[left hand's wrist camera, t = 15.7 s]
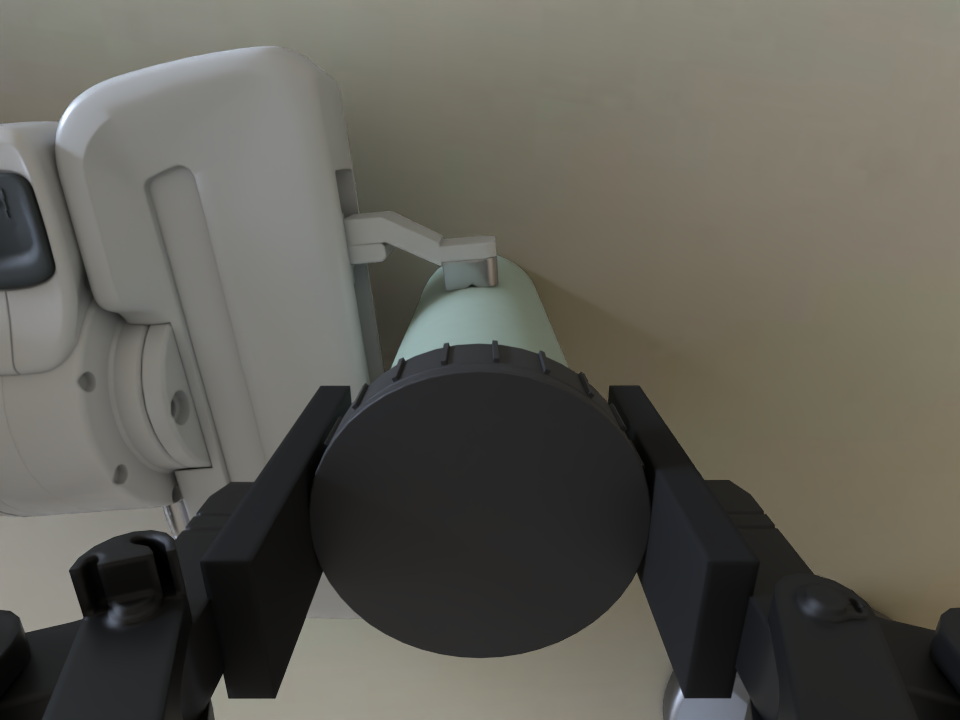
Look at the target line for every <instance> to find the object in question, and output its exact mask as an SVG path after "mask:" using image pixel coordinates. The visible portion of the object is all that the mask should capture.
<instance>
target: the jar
mask: <svg viewBox="0 0 960 720" xmlns="http://www.w3.org/2000/svg"><path fill="white" fill-rule="evenodd" d="M497 264H498V280H499V284H498V285H496V286H493V287H488V288H485V287H476V286H474V285H473V284H472V285H470V286H469V287H468V288H467V289H461V290H452V291H446V289H445V281H444V274H443V266H442V267H440V268H439V269H438V270H437V271H436V272H435V273H434V274H433V275H432V276H431V278H430V279H429V281H428V282H427V284H426V286H425V288H424V290H423V293H422V295H421V297H420V300H419V302H418V304H417V307H416V309H415V312H414V314H413V316H412V319H411V321H410V324H409V326H408V328H407V331H406V333H405V336H404V338H403V340H402V343H401V345H400V348H399V350H398V352H397V355H396V357H395V360H394V362H393V364H392V367H391V368H393V367H394V366H396V365H397V363H398V361H399V359H401V358H402V357H404V359H405V361H406V360H408V359H410V358H412V357H414V356H416V355H419V354H422V353H425V352H428V351H431V350H435V349H439V348H443V345H444V343H449V345H450V346H454V345H463V344H478V343H480V344H492V340H497V341H498V345H505V346H511V347H516V348H522V349H525V350H528V351H531V352H535V353H539V351H540V350H541V351H544V352H545V355H546V357H548V358H550V359H552V360H554V361H556V362H559V363H561V364H563V365H564V366H566V367H567V368H569V367H568V365H567V362H566V360H565V358H564V355H563V353H562V350H561V348H560V346H559V343H558V341H557V338H556V336H555V334H554V331H553V329H552V326H551V324H550V322H549V319H548V317H547V315H546V312H545V310H544V307H543V305H542V303H541V300H540V298H539V295H538V293H537V291H536V288H535V286H534V284H533V282H532V281H531V279H530V278H529V277H528V275H527V274H526V273H525V272H524V271H523V270H522V269H521V268H520V267H519V266H517V265H516V264H515V263H513V262H511V261H510V260H508V259H506V258H503V257H501V256H498V255H497Z"/></svg>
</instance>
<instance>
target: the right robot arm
mask: <svg viewBox="0 0 960 720" xmlns="http://www.w3.org/2000/svg"><path fill="white" fill-rule="evenodd" d="M396 247H397V248H399V249H402V250H404V251H406V252H409V253H411V254H413V255H415V256H418V257H420V258H422V259H425V260H427V261H429V262H431V263H434V264H436V265H438V266H441V267H442V266H443V274H444V281H445V289H446V291H452V290H461V289H467V288H468V287H469V286H470V285H472V284H473V285H474V286H476V287H485V288H488V287H493V286H496V285H498V284H499V280H498V264H497V252H496V239H495V236H488V235H483V236H472V237H460V238H448V239H443V235H441V234H439V233H437V232H435V231H433V230H431V229H429V228H427V227H425V226H422V225H420V224H418V223H416V222H414V221H412V220H410V219H408V218H406V217H404V216H401V215H399V214H397V213H395V212H393V211H382V212H371V213H360V211H359V204H358V198H357V191H356V185H355V179H354V172H353V166H352V159H351V153H350V147H349V140H348V134H347V127H346V121H345V114H344V108H343V101H342V95H341V90H340V88H339V85H338V84H337V82H336V81H335V79H334V78H332V77H331V76H330V75H329V74H328V73H326V72H325V71H324V70H323V69H322V68H320V67H319V66H318V65H317V64H316V63H314V62H313V61H311V60H310V59H309V58H307V57H305V56H304V55H302V54H300V53H298V52H296V51H293V50H290V49H287V48H284V47H277V46H259V47H248V48H240V49H233V50H227V51H220V52H214V53H209V54H203V55H198V56H193V57H188V58H183V59H179V60H175V61H170V62H166V63H162V64H158V65H154V66H151V67H147V68H143V69H140V70H136V71H133V72H129V73H126V74H123V75H119V76H116V77H113V78H111V79H108V80H105V81H103V82H100V83H98V84H96V85H94V86H92V87H90V88H89V89H87V90H86V91H84V92H83V93H81V94H80V95H79V96H78V97H76V98H75V99H74V100H73V101H72V102H71V104H70V105H69V106H68V107H67V108H66V110H65V112H64V113H63V115H62V117H61V119H60V122H54V121H37V122H16V123H5V124H0V516H12V517H30V516H47V515H60V514H74V513H87V512H100V511H111V510H125V509H139V508H154V507H163V510H164V513H165V516H166V519H167V522H168V525H169V528H170V530H171V532H172V534H173V536H174V538H175V539H176V538H177V537H178V536H179V534H180V533H181V532H182V531H183V530H185V527H186V525H187V524H188V523H189V522H190V520H191V519H192V518H193V517H194V516H196V513H197V512H198V510H199V509H200V508H201V507H202V505H203V504H204V503H205V501H206V500H207V499H208V498H209V496H211V495H212V494H214V493H215V492H217V491H218V490H220V489H221V488H223V487H224V486H226V485H227V484H229V483H230V482H254V481H255V480H256V479H257V477H258V476H259V474H260V473H261V471H262V470H263V468H264V467H265V465H266V464H267V463H268V461H269V460H270V458H271V457H272V455H273V454H274V452H275V451H276V449H277V448H278V447H279V445H280V444H281V442H282V441H283V439H284V438H285V436H286V435H287V434H288V432H289V431H290V429H291V428H292V426H293V425H294V423H295V422H296V420H297V419H298V418H299V416H300V415H301V413H302V412H303V410H304V409H305V407H306V406H307V405H308V403H309V402H310V400H311V399H312V397H313V396H314V394H315V393H316V391H317V390H318V389H319V387H320V386H350V389H351V401H352V403H353V402H354V401H355V399H356V397H357V395H358V393H359V391H360V390H361V388H362V386H363V385H364V384H365V383H367V384H368V385H370V384H371V383H372V382H373V381H374V380H376V379H377V378H378V377H379V376H380V375H382V374H383V373H385V371H384V365H383V358H382V352H381V345H380V339H379V332H378V326H377V320H376V313H375V307H374V300H373V294H372V288H371V281H370V275H369V268H368V263H373V262H383V261H384V260H385V259H386V258H387V257H388V256H389V255H390V254H391V253H392V251H393V250H394V249H395V248H396ZM306 618H327V619H360V618H361V617H360V616H359V615H358V614H356V613H355V612H354V611H353V610H352V609H351V608H350V607H349V606H348V605H347V604H346V603H345V602H344V601H343V600H342V599H341V598H340V596H339V595H338V594H337V592H336V591H335V590H334V588H333V587H332V586H331V584H330V583H329V581H328V579H327V577H326V576H325V574H324V572H323V573H322V576H321V578H320V581H319V584H318V586H317V589H316V592H315V594H314V597H313V600H312V602H311V605H310V608H309V610H308V613H307V616H306Z"/></svg>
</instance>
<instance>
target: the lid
mask: <svg viewBox="0 0 960 720" xmlns="http://www.w3.org/2000/svg"><path fill="white" fill-rule="evenodd" d="M625 430H627V428H626V426H625V425H624V423H623V421H622V419H621V417H620V415H619V413H618V411H617V410H616V408H615V406H614V404H613V403H611V404H608V403H607V402H606V401H605V399H604V398H603V397H602V396H601V395H600V394H599V393H598V392H597V390H596V389H595V388H594V387H593V386H591V385H590V384H589V382H588V380H587V378H586V376H585V374H583V373H582V372H581V373H580V374H579V375H578V374H577V373H575V372H574V371H572V370H570V369H569V368H567V367H566V366H564V365H563V364H561V363H559V362H556V361H554V360H552V359H550V358H548V357H546V355H545V352H544V351H541V350H540V351H539V353H535V352H531V351H528V350H525V349H522V348H516V347H511V346H505V345H498V341H497V340H492V344H480V343H478V344H463V345H454V346H450V345H449V343H444V345H443V348H439V349H435V350H431V351H428V352H425V353H422V354H419V355H416V356H414V357H412V358H410V359H408V360H406V361H405V359H404V357H402V358H401V359H399V361H398V363H397V365H396V366H394V367H393V368H391V369H390V370H388V371H387V372H385V373H383V374H382V375H380V376H379V377H378V378H377V379H376V380H374V381H373V382H372V383H371V384H370V385H368V384H367V383H365V384H364V385H363V386H362V388H361V390H360V391H359V393H358V395H357V397H356V399H355V401H354V402H353V403H352V404H351V406H350V407H349V409H348V411H347V412H346V414H345V415H344V417H343V418H342V417H338V419H337V421H336V423H335V425H334V427H333V429H332V430H331V432H330V434H329V436H328V438H327V440H326V441H325V443H324V444H325V445H327V446H328V447H327V449H326V451H325V453H324V454H323V457H322V459H321V461H320V464H319V466H318V468H317V470H316V473H315V476H314V478H313V480H312V481H313V484H312V488H311V492H310V501H309V521H310V530H311V537H312V543H313V548H314V551H315V553H316V556H317V559H318V561H319V564H320V567H321V568H322V570H323V572H324V574H325V576H326V577H327V579H328V581H329V583H330V584H331V586H332V587H333V588H334V590H335V591H336V592H337V594H338V595H339V596H340V598H341V599H342V600H343V601H344V602H345V603H346V604H347V605H348V606H349V607H350V608H351V609H352V610H353V611H354V612H355V613H356V614H358V615H359V616H360V617H361V618H363V619H364V620H365V621H366V622H367V623H369V624H370V625H372V626H373V627H375V628H377V629H378V630H380V631H381V632H383V633H384V634H386V635H388V636H390V637H392V638H395V639H397V640H399V641H401V642H403V643H405V644H408V645H411V646H414V647H416V648H419V649H422V650H426V651H430V652H434V653H438V654H443V655H450V656H457V657H470V658H490V657H504V656H510V655H517V654H522V653H526V652H530V651H534V650H538V649H541V648H544V647H547V646H549V645H552V644H555V643H557V642H560V641H562V640H564V639H566V638H568V637H570V636H572V635H574V634H576V633H577V632H579V631H581V630H582V629H584V628H585V627H587V626H588V625H590V624H591V623H593V622H594V621H595V620H596V619H598V618H599V617H600V616H601V615H602V614H604V613H605V612H606V611H607V610H608V609H609V608H610V607H611V606H612V605H613V604H614V603H615V602H616V601H617V600H618V599H619V598H620V597H621V595H622V594H623V592H624V591H625V590H626V588H627V587H628V586H629V584H630V583H631V581H632V580H633V578H634V576H635V574H636V572H637V570H638V568H639V566H640V565H641V562H642V559H643V556H644V553H645V551H646V548H647V543H648V536H649V529H650V520H651V501H650V493H649V487H648V484H647V480H646V477H645V473H644V469H645V466H644V463H643V462H642V460H641V458H640V456H639V454H638V452H637V450H636V448H635V446H634V445H633V443H632V441H631V440H629V439H628V437H627V435H626V434H625V432H624V431H625Z"/></svg>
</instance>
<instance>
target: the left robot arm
mask: <svg viewBox="0 0 960 720" xmlns="http://www.w3.org/2000/svg"><path fill="white" fill-rule="evenodd" d="M611 403H613V404H614V406H615V408H616V410H617V411H618V413H619V415H620V417H621V419H622V421H623V423H624V425H625V426H626V428H627V430H625V431H624V432H625V434H626V435H627V437H628V439H629V440H631V441H632V443H633V445H634V446H635V448H636V450H637V452H638V454H639V456H640V458H641V460H642V462H643V463H644V466H645V469H644V473H645V477H646V480H647V484H648V487H649V493H650V501H651V520H650V529H649V536H648V543H647V548H646V551H645V553H644V556H643V559H642V562H641V565H640V566H639V568H638V570H637V574H638V576H639V579H640V582H641V584H642V587H643V590H644V592H645V595H646V598H647V600H648V603H649V606H650V608H651V611H652V614H653V616H654V619H655V622H656V624H657V627H658V630H659V632H660V635H661V638H662V640H663V643H664V646H665V648H666V651H667V654H668V656H669V659H670V662H671V664H672V667H673V670H674V672H673V673H672V675H671V677H670V680H669V682H668V685H667V688H666V691H665V695H664V700H663V717H664V720H960V608H950V609H949V610H947V611H946V612H945V613H943V614H942V615H941V617H940V620H939V622H938V625H937V628H936V630H930V629H926V628H922V627H917V626H913V625H909V624H904V623H900V622H895V621H892V620H891V619H889V618H888V617H886V616H885V615H883V614H881V613H879V612H877V611H875V610H873V609H871V607H870V606H869V605H868V603H867V602H866V601H864V600H863V599H862V598H861V597H860V596H858V595H857V594H856V593H855V592H854V591H852V590H850V589H849V588H847V587H845V586H843V585H841V584H839V583H837V582H835V581H833V580H830V579H827V578H824V577H820V576H817V575H814V574H813V572H812V571H811V570H810V569H809V567H808V566H807V565H806V564H805V562H804V561H803V560H802V559H801V557H800V556H799V555H798V554H797V552H796V551H795V550H794V549H793V547H792V546H791V545H790V544H789V542H788V541H787V540H786V539H785V537H784V536H783V535H782V534H781V532H780V531H779V530H778V528H775V525H774V523H773V522H772V521H771V520H770V518H769V517H768V516H767V515H766V514H764V511H763V510H762V508H761V507H760V506H759V505H758V503H757V502H756V501H755V500H754V498H753V497H752V496H751V495H750V494H749V493H748V492H746V491H745V490H743V489H742V488H740V487H739V486H737V485H736V484H734V483H733V482H731V481H730V480H704V479H703V477H702V476H701V475H700V473H699V472H698V470H697V469H696V467H695V466H694V464H693V463H692V462H691V460H690V459H689V457H688V456H687V454H686V453H685V451H684V450H683V448H682V447H681V446H680V444H679V443H678V441H677V440H676V438H675V437H674V435H673V434H672V432H671V431H670V430H669V428H668V427H667V425H666V424H665V422H664V421H663V419H662V418H661V417H660V415H659V414H658V412H657V411H656V409H655V408H654V406H653V405H652V403H651V402H650V401H649V399H648V398H647V396H646V395H645V393H644V392H643V390H642V389H641V387H640V386H609V398H608V404H611ZM351 404H352V401H351V389H350V386H320V387H319V389H318V390H317V391H316V393H315V394H314V396H313V397H312V399H311V400H310V402H309V403H308V405H307V406H306V407H305V409H304V410H303V412H302V413H301V415H300V416H299V418H298V419H297V420H296V422H295V423H294V425H293V426H292V428H291V429H290V431H289V432H288V434H287V435H286V436H285V438H284V439H283V441H282V442H281V444H280V445H279V447H278V448H277V449H276V451H275V452H274V454H273V455H272V457H271V458H270V460H269V461H268V463H267V464H266V465H265V467H264V468H263V470H262V471H261V473H260V474H259V476H258V477H257V479H256V480H255V481H254V482H230V483H229V484H227V485H226V486H224V487H223V488H221V489H220V490H218V491H217V492H215V493H214V494H212V495H211V496H209V498H208V499H207V500H206V501H205V503H204V504H203V505H202V507H201V508H200V509H199V510H198V512H197V513H196V516H194V517H193V518H192V519H191V520H190V522H189V523H188V524H187V525H186V527H185V530H183V531H182V532H181V533H180V534H179V536H178V537H177V538H176V539H175V540H174V539H173V538H172V537H171V536H169V535H168V534H167V533H164V532H159V531H154V530H148V531H136V532H131V533H127V534H124V535H120V536H116V537H113V538H111V539H109V540H107V541H105V542H103V543H101V544H98V545H96V546H94V547H93V548H92V549H90V550H89V551H87V552H86V553H85V554H83V555H82V556H81V557H79V558H78V559H77V561H76V562H75V563H74V565H73V566H72V567H71V568H70V570H69V572H70V575H71V579H72V582H73V585H74V588H75V591H76V594H77V598H78V601H79V604H80V607H81V610H82V614H83V619H81V620H78V621H74V622H71V623H66V624H62V625H58V626H53V627H49V628H44V629H40V630H36V631H31V632H27V633H25V632H24V629H23V626H22V624H21V621H20V618H19V617H18V616H17V615H15V614H14V613H12V612H11V611H5V610H0V720H215V718H214V712H213V706H212V702H211V697H212V695H213V693H214V690H215V688H216V686H217V684H218V682H219V680H220V678H221V676H222V674H223V675H224V679H225V684H226V689H227V693H228V698H276V696H277V693H278V690H279V688H280V685H281V682H282V680H283V677H284V674H285V672H286V669H287V666H288V664H289V661H290V658H291V656H292V653H293V650H294V648H295V645H296V642H297V640H298V637H299V634H300V632H301V629H302V626H303V624H304V621H305V618H306V616H307V613H308V610H309V608H310V605H311V602H312V600H313V597H314V594H315V592H316V589H317V586H318V584H319V581H320V578H321V576H322V573H323V570H322V568H321V567H320V564H319V561H318V559H317V556H316V553H315V551H314V548H313V543H312V537H311V530H310V521H309V501H310V492H311V488H312V484H313V481H312V480H313V478H314V476H315V473H316V470H317V468H318V466H319V464H320V461H321V459H322V457H323V454H324V453H325V451H326V449H327V447H328V446H327V445H325V444H324V443H325V441H326V440H327V438H328V436H329V434H330V432H331V430H332V429H333V427H334V425H335V423H336V421H337V419H338V417H342V418H343V417H344V415H345V414H346V412H347V411H348V409H349V407H350V406H351Z"/></svg>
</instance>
